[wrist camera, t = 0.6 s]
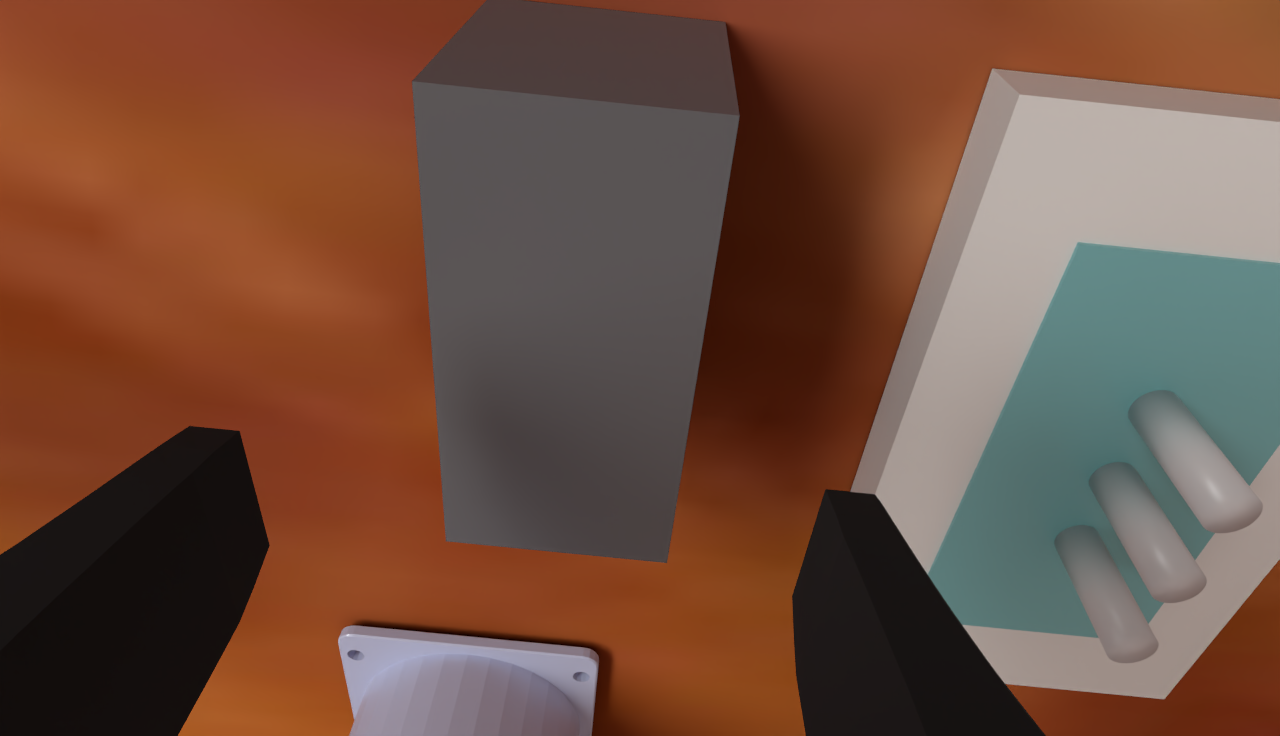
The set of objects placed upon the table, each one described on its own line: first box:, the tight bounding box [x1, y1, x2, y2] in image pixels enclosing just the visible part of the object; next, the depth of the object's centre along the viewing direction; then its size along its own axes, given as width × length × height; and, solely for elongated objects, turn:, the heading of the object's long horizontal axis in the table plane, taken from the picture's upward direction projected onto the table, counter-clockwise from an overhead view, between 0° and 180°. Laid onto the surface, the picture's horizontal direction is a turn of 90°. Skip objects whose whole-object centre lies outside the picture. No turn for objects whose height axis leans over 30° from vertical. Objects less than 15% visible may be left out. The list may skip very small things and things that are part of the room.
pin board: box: [850, 69, 1280, 699], centre depth 18 cm, size 16×10×5 cm, turn 175°
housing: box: [412, 0, 740, 563], centre depth 15 cm, size 9×4×5 cm, turn 175°
